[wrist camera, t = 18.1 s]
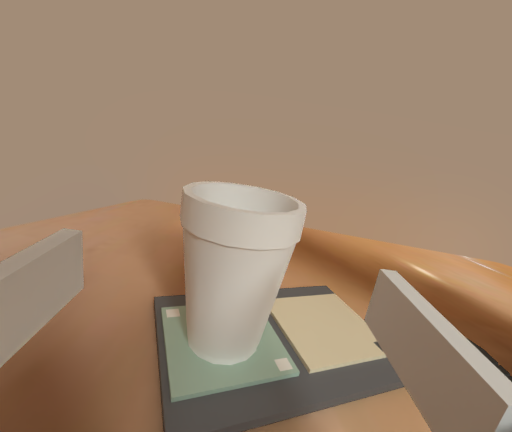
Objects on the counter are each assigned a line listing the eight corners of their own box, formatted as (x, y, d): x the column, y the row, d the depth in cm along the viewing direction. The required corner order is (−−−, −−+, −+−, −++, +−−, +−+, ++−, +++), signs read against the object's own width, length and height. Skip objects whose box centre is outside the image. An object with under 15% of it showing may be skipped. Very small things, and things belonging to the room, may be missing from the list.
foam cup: (292, 374, 22) (331, 220, 19) (170, 391, 19) (189, 209, 16) (256, 303, 31) (278, 187, 27) (167, 306, 28) (179, 177, 24)
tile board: (324, 290, 39) (326, 283, 38) (420, 382, 25) (424, 371, 25) (153, 303, 30) (154, 293, 30) (165, 452, 17) (166, 437, 16)
